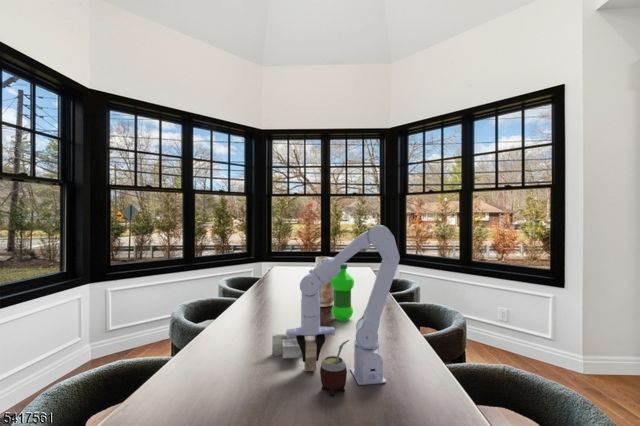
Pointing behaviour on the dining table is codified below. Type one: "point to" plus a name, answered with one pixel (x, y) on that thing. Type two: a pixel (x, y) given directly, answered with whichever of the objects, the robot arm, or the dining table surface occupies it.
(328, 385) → the mate gourd
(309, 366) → the rail end
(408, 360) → the dining table surface
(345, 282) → the plastic bottle
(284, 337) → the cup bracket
